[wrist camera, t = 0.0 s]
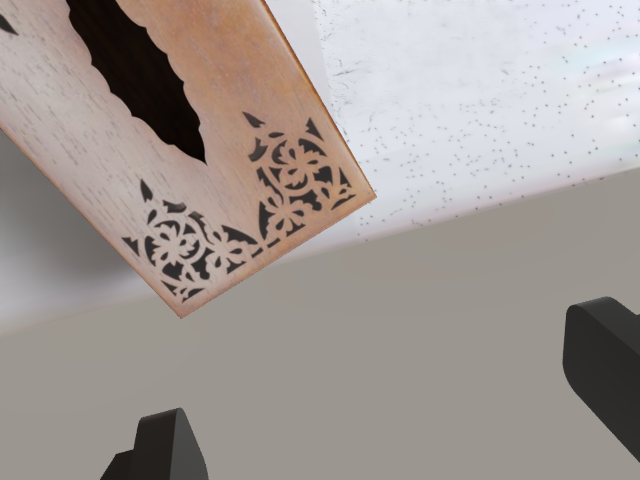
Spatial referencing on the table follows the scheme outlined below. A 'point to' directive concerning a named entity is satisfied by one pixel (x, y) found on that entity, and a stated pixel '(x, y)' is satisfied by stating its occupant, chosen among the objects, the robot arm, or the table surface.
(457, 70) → the table surface
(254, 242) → the tissue box cover
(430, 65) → the table surface
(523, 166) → the table surface
